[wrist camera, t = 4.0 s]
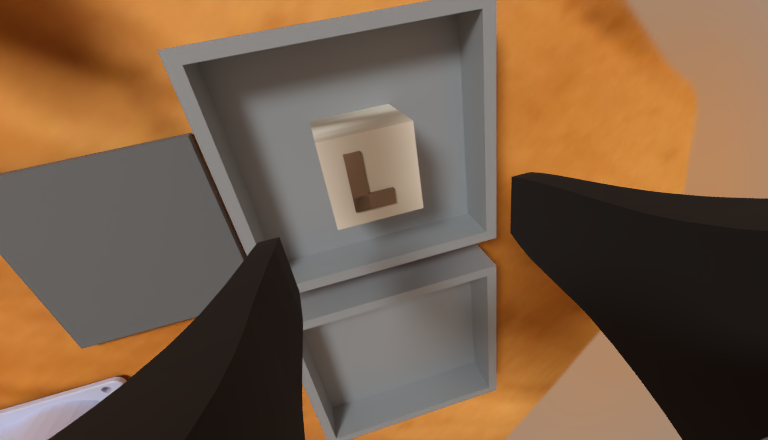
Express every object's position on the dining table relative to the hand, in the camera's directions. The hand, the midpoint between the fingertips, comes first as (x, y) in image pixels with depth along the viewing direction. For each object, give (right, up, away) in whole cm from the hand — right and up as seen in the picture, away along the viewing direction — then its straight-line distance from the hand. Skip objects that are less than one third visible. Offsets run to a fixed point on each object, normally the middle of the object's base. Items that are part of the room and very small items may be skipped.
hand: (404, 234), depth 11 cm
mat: (-14, -1, +8) cm, 16 cm away
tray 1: (-2, +4, +8) cm, 9 cm away
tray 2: (0, -8, +15) cm, 17 cm away
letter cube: (-2, +4, +8) cm, 9 cm away
